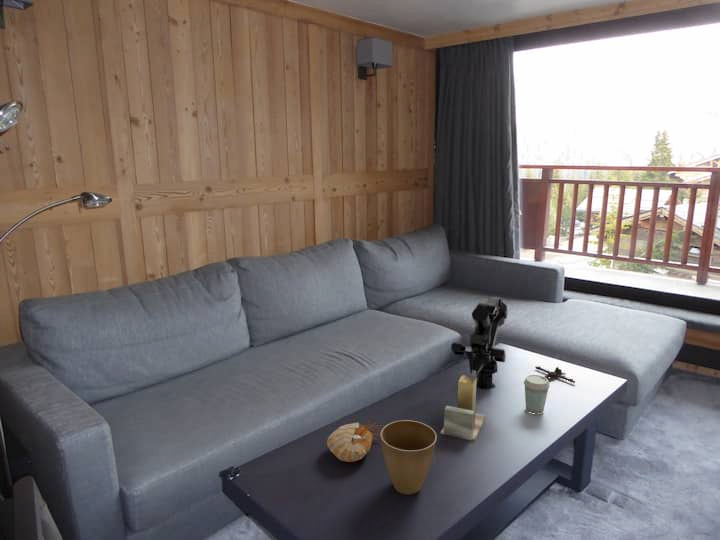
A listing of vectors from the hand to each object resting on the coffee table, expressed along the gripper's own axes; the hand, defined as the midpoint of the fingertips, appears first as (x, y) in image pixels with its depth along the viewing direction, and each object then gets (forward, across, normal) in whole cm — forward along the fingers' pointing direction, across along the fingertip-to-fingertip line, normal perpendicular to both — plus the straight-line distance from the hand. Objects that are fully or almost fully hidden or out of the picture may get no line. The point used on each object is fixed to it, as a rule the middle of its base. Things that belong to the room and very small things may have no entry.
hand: (473, 374), depth 182 cm
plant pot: (+45, -6, -27) cm, 53 cm away
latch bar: (+15, 0, +2) cm, 15 cm away
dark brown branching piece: (-16, +23, +36) cm, 45 cm away
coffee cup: (+4, +20, +14) cm, 25 cm away
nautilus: (+38, -26, -19) cm, 50 cm away
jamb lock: (+18, 0, 0) cm, 18 cm away
